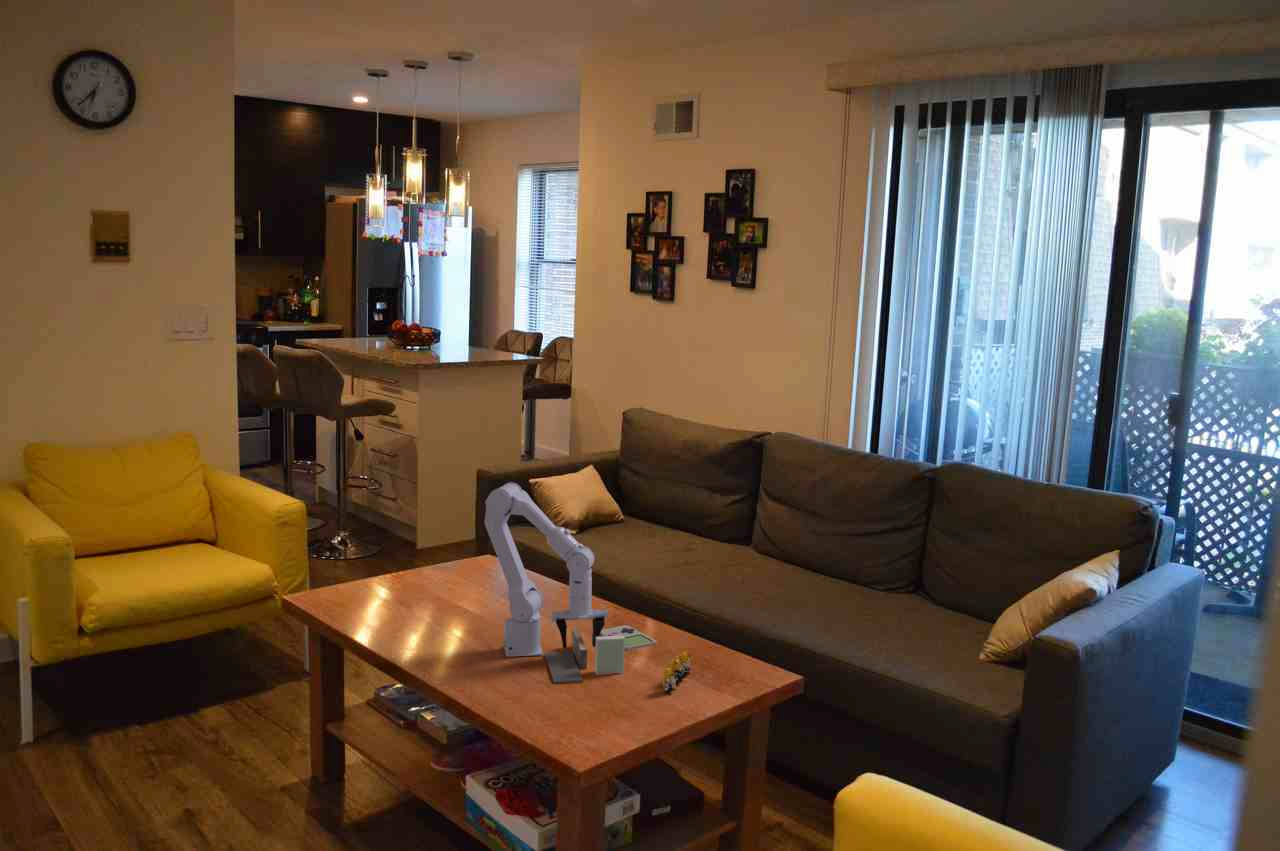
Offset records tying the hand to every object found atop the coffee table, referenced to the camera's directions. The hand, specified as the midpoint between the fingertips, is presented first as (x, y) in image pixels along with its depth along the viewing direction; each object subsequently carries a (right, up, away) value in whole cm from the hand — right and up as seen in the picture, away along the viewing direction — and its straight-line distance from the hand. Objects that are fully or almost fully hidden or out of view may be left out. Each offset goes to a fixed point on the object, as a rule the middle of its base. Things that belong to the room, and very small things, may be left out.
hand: (579, 646), depth 268 cm
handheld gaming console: (+12, -2, +15) cm, 19 cm away
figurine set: (+25, -6, -15) cm, 29 cm away
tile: (+8, -5, -9) cm, 13 cm away
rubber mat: (-4, -4, -7) cm, 9 cm away
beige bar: (0, -3, 0) cm, 3 cm away
